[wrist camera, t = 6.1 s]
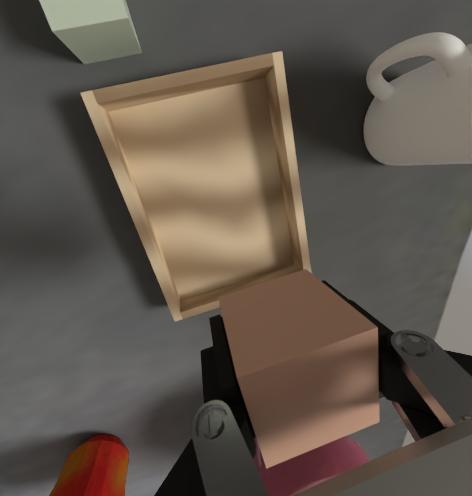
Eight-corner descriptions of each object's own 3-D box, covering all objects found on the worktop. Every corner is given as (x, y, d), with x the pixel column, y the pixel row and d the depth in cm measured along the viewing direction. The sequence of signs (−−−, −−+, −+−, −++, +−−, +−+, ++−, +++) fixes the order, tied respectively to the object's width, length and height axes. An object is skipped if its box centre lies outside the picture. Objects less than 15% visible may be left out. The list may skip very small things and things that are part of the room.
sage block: (55, -11, 16) (7, -76, 12) (118, -21, 16) (94, -88, 12) (84, 64, 18) (52, 31, 13) (142, 53, 18) (128, 17, 14)
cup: (397, 179, 26) (517, 183, 17) (318, 122, 22) (414, 85, 13) (443, 107, 24) (603, 66, 15) (365, 33, 21) (514, -84, 11)
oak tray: (96, 104, 18) (80, 92, 16) (268, 67, 20) (282, 50, 17) (176, 305, 25) (174, 321, 23) (299, 266, 27) (311, 277, 24)
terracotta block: (217, 297, 11) (237, 378, 6) (306, 269, 11) (377, 327, 7) (239, 366, 12) (266, 468, 8) (316, 339, 13) (379, 421, 8)
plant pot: (225, 378, 30) (249, 512, 18) (321, 353, 32) (398, 459, 21) (237, 446, 35) (262, 587, 23) (320, 421, 37) (382, 538, 25)
